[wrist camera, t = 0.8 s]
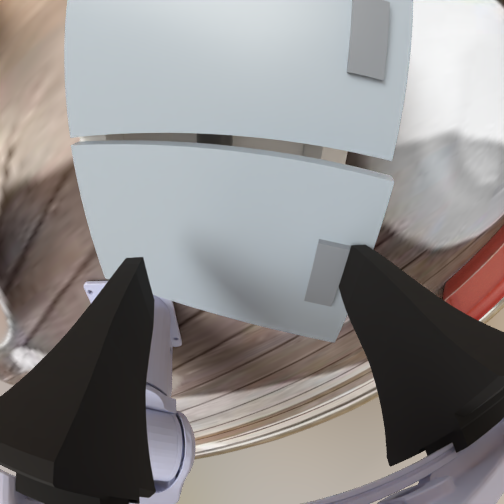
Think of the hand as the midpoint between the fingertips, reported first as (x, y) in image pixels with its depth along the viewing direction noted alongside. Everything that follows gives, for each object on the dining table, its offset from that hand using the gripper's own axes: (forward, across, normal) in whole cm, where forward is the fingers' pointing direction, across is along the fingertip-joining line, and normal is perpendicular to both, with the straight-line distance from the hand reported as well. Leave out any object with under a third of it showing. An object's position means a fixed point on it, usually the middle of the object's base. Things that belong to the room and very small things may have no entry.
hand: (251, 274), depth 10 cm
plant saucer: (+11, -38, +14) cm, 42 cm away
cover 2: (+3, +2, +1) cm, 4 cm away
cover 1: (+4, +1, -8) cm, 9 cm away
